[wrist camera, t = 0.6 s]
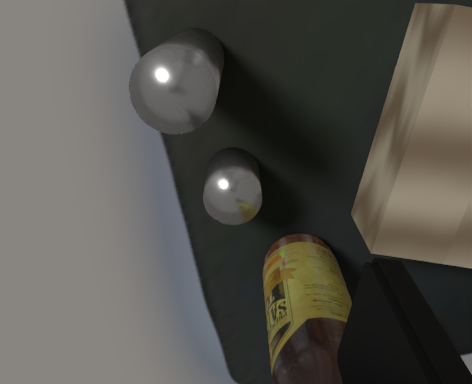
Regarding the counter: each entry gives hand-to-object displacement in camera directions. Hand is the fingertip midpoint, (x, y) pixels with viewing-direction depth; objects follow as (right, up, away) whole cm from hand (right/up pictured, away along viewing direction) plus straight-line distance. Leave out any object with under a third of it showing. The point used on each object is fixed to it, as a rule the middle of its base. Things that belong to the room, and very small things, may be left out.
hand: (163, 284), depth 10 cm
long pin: (-1, +12, +21) cm, 24 cm away
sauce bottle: (+7, -4, +28) cm, 29 cm away
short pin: (+1, +4, +24) cm, 25 cm away
